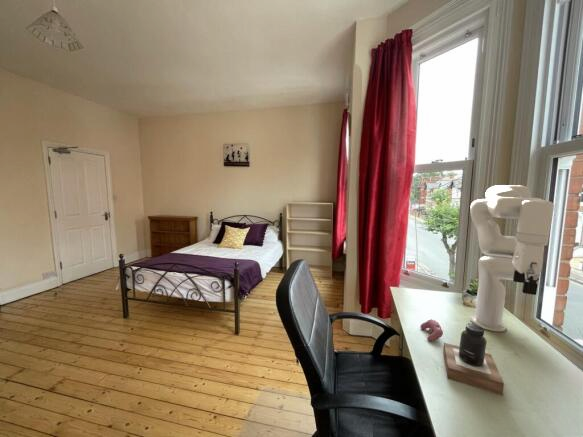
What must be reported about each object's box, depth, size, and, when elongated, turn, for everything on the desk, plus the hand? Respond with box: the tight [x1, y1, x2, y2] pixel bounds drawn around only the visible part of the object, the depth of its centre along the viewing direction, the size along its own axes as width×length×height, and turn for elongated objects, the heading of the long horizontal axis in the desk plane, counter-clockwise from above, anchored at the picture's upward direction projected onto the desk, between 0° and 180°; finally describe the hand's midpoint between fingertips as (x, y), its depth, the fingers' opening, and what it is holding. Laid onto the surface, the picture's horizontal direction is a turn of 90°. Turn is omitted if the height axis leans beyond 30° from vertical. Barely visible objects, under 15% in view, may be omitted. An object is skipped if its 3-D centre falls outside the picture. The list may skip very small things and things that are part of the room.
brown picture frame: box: [442, 342, 505, 396], centre depth 82 cm, size 14×14×4 cm
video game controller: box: [420, 318, 444, 342], centre depth 101 cm, size 10×5×7 cm, turn 170°
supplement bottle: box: [459, 322, 488, 367], centre depth 80 cm, size 7×7×12 cm
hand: (523, 287), depth 81 cm, fingers open, 9 cm apart
